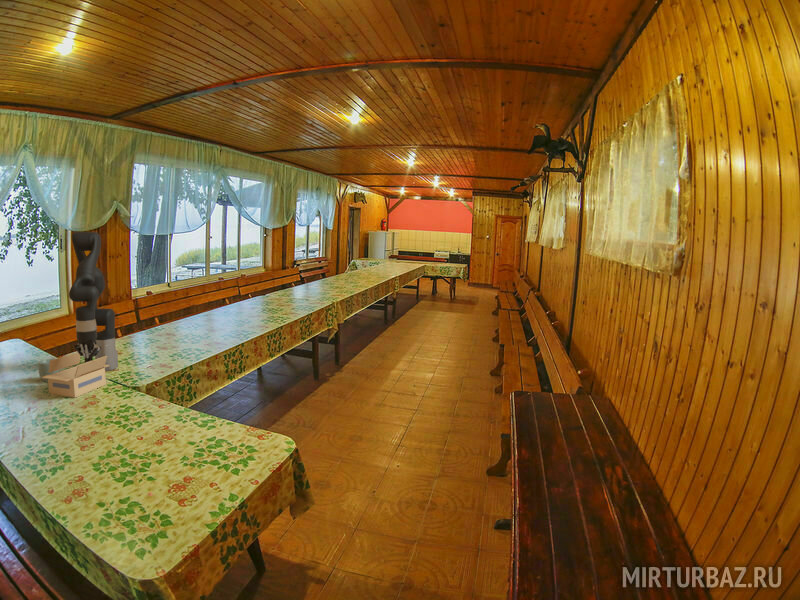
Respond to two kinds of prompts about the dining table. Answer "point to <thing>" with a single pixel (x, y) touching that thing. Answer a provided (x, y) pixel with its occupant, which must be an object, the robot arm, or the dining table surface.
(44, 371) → the cup
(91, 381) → the carton
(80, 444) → the dining table surface
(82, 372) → the flap
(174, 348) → the dining table surface
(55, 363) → the flap
